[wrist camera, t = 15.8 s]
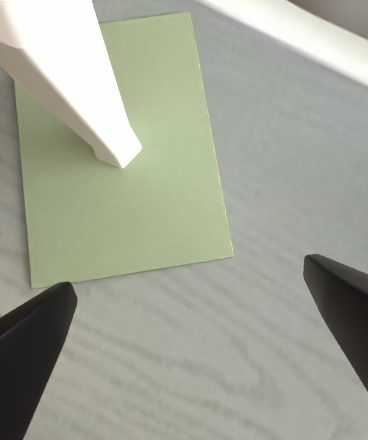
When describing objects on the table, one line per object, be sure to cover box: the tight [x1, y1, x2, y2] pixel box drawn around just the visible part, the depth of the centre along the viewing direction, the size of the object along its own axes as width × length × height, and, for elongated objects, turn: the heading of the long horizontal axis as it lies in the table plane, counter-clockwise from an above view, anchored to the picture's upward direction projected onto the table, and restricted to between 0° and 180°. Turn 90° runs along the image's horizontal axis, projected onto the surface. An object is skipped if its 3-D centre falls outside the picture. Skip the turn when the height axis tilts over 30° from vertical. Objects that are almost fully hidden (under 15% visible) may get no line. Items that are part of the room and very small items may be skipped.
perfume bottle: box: [0, 0, 142, 169], centre depth 12 cm, size 5×4×15 cm
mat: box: [14, 12, 234, 289], centre depth 20 cm, size 22×16×1 cm
